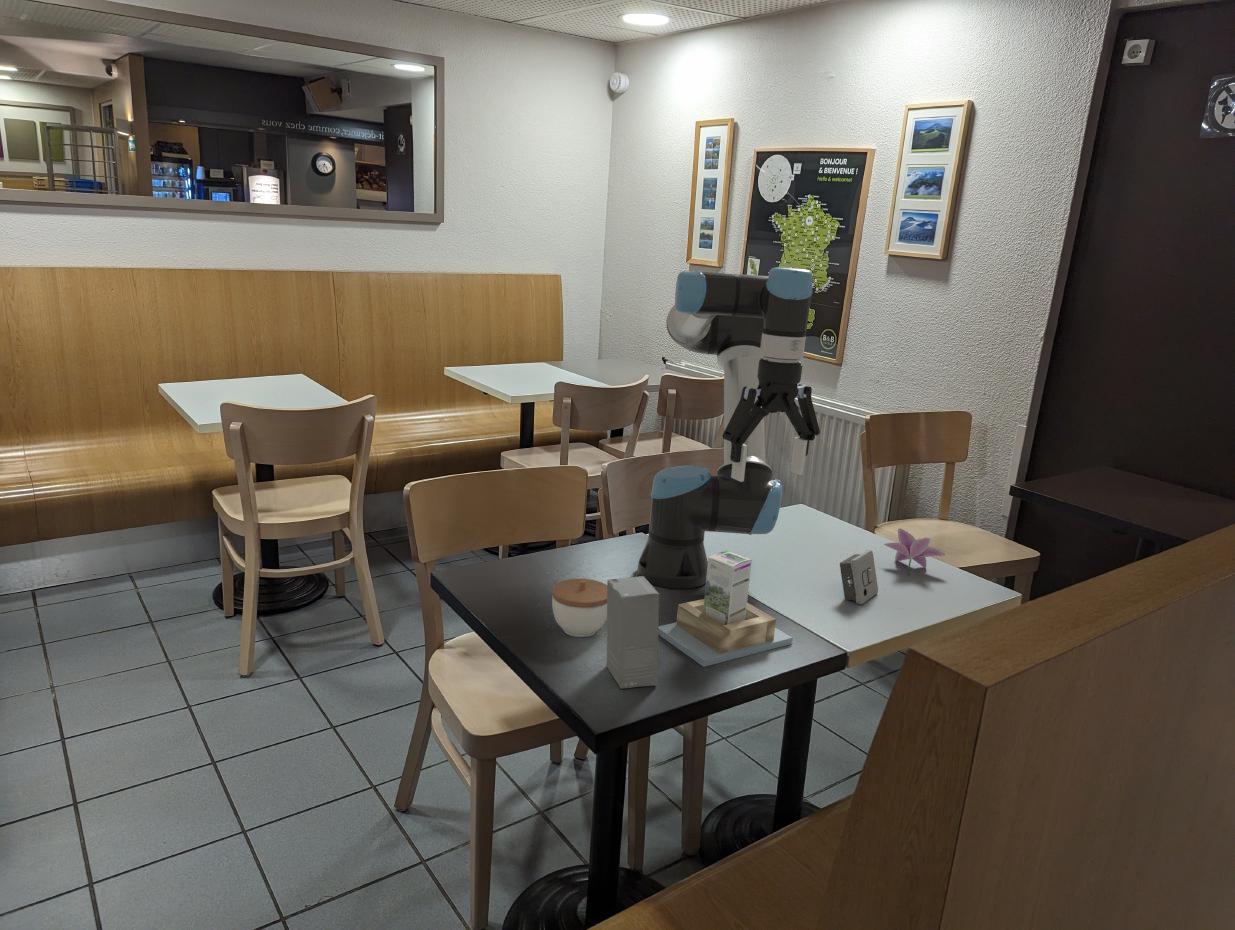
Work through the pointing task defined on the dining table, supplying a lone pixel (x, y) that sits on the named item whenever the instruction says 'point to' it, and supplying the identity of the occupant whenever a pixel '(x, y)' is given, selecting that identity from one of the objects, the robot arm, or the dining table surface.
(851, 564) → the electrical switch
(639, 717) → the dining table surface
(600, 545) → the dining table surface
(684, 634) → the socket holder
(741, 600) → the syrup box
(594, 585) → the lidded jar
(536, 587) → the dining table surface
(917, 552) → the lily
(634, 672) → the skincare box
